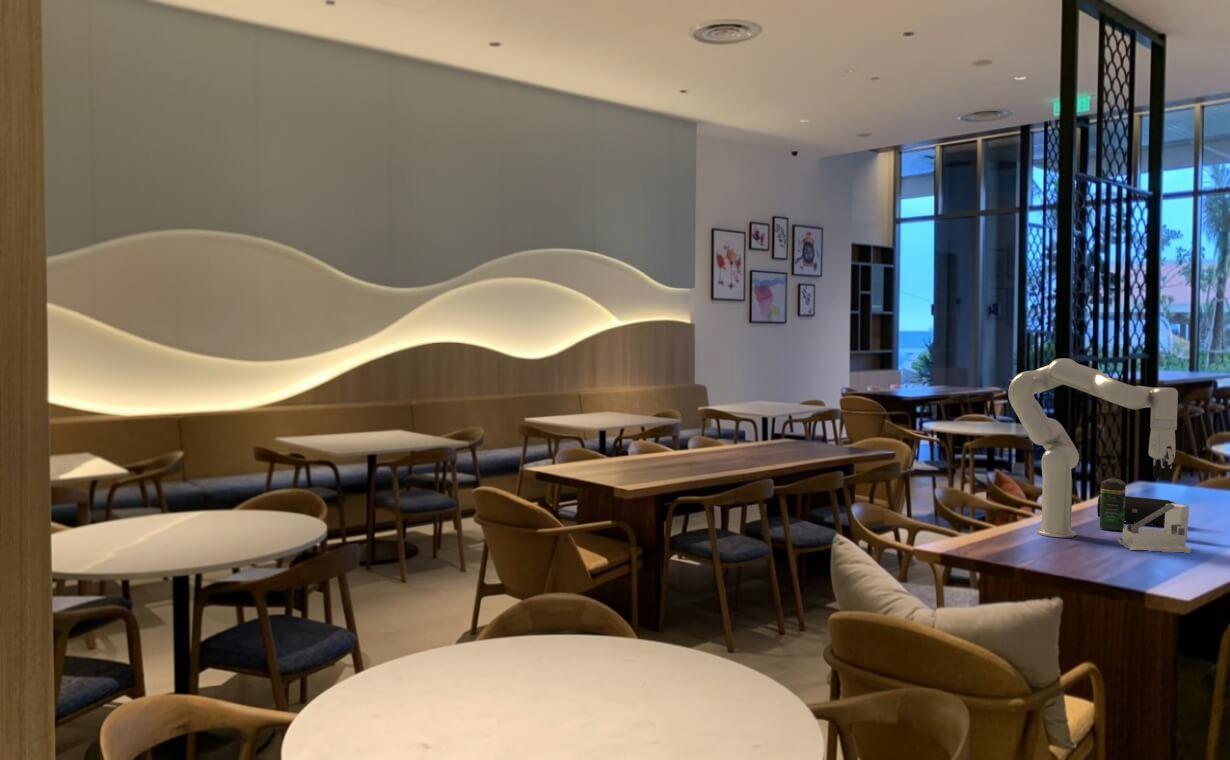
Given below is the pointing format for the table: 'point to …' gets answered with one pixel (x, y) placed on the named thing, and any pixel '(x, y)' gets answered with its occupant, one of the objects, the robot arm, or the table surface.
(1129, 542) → the block
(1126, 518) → the portable speaker
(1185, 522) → the skincare box
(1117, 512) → the coffee jar
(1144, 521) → the strap
